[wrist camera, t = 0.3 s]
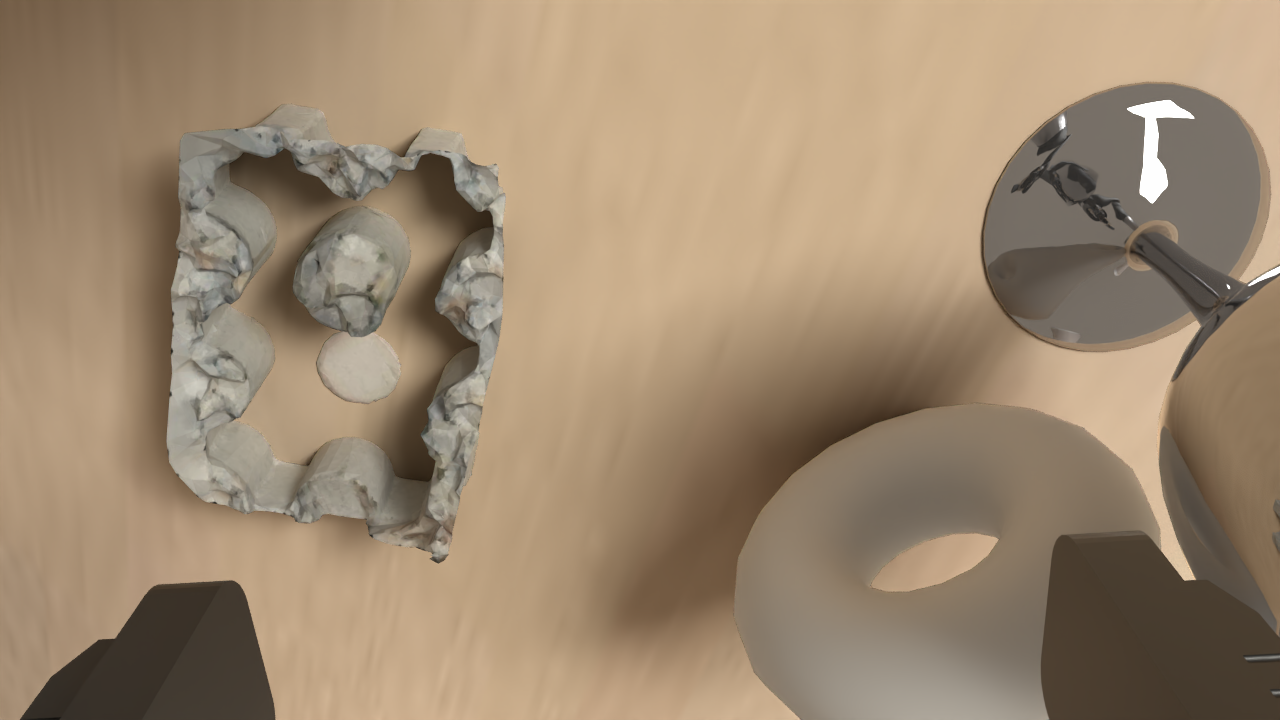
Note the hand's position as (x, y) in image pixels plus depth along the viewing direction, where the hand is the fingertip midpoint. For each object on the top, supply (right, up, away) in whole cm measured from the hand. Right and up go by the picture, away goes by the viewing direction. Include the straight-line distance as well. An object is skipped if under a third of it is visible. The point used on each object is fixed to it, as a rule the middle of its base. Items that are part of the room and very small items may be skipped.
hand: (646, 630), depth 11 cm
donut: (+7, 0, +20) cm, 21 cm away
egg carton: (-7, +4, +18) cm, 20 cm away
